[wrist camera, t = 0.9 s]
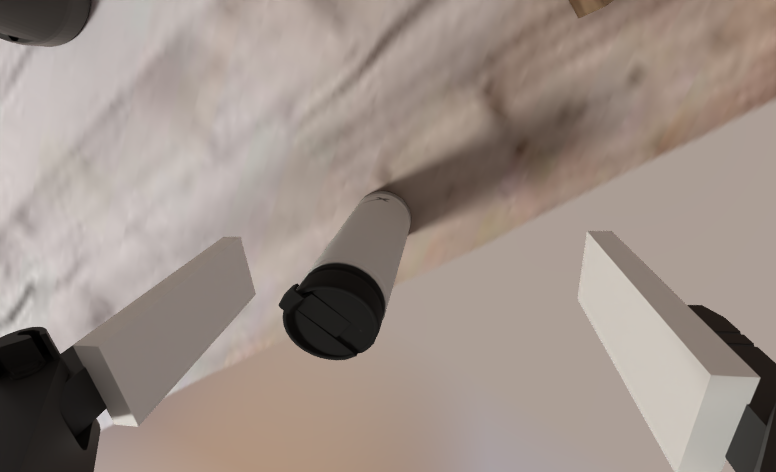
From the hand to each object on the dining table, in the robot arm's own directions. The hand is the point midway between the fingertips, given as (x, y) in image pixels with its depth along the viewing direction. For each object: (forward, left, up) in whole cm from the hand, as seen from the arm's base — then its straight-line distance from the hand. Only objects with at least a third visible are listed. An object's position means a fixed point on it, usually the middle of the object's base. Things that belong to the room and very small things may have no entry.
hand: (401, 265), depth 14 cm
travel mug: (+3, -9, -25) cm, 27 cm away
